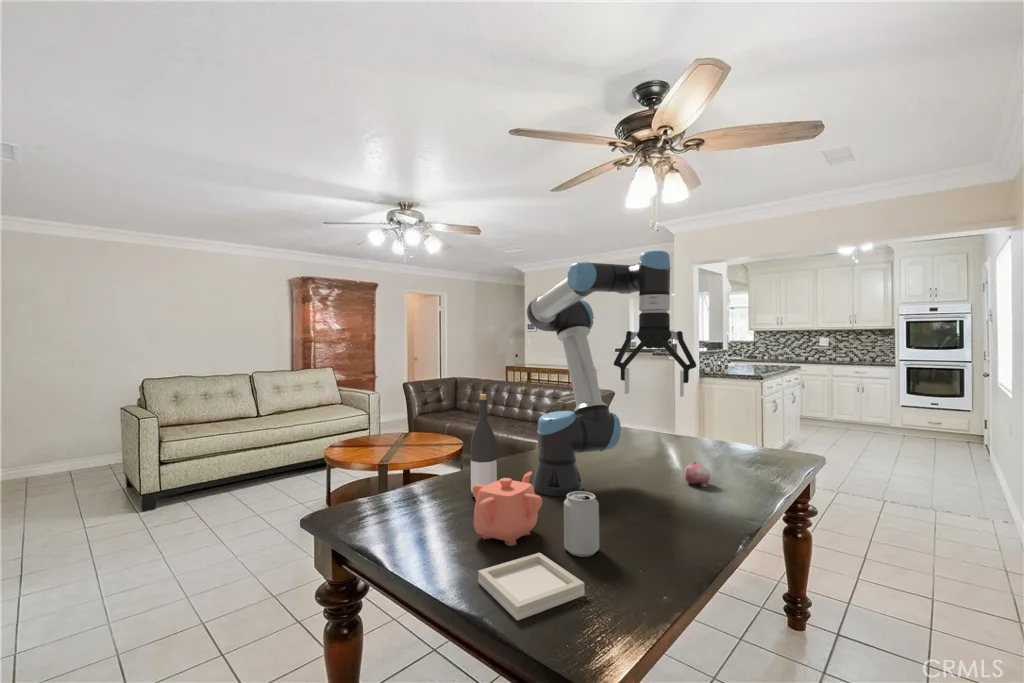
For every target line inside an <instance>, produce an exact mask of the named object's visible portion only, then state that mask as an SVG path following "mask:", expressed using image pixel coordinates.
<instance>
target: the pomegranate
mask: <svg viewBox="0 0 1024 683" xmlns="http://www.w3.org/2000/svg"><path fill="white" fill-rule="evenodd" d="M684 479H685V482H686V483H687V484H688V485H692V486H695V487H700V488H701V487H702V488H710V485H708V483H709V481H710V480H711V473H710V471H709V469H708V468H707V467H705V465H702V464H700V463H697V462H696V461H693V462H691V463H689V464H687V466H686V467H685V468H684Z"/></svg>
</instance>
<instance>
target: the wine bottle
mask: <svg viewBox="0 0 1024 683" xmlns="http://www.w3.org/2000/svg"><path fill="white" fill-rule="evenodd" d="M478 403H479V404H478V405H479V406H478V410H479V411H478V416H479V418H478V419H479V420H478V421H477V424H476V425H475V428H474V430H473V433H472V435H471V440H470V490H471V491H470V492H471V493H470V494H471V497H472V496H473V497H474V494H473V491H472V488H473V486H474V485H477V484H480V485H488V484H490V483H493V482H495V481H498V472H497V468H498V467H497V466H498V465H497V457H498V454H497V440H496V437H495V434H494V432H493V431H494V430H493V429H492V427H491V425H490V423H489V421H488V399H487V394H486V393H481V394H479V399H478Z"/></svg>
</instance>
